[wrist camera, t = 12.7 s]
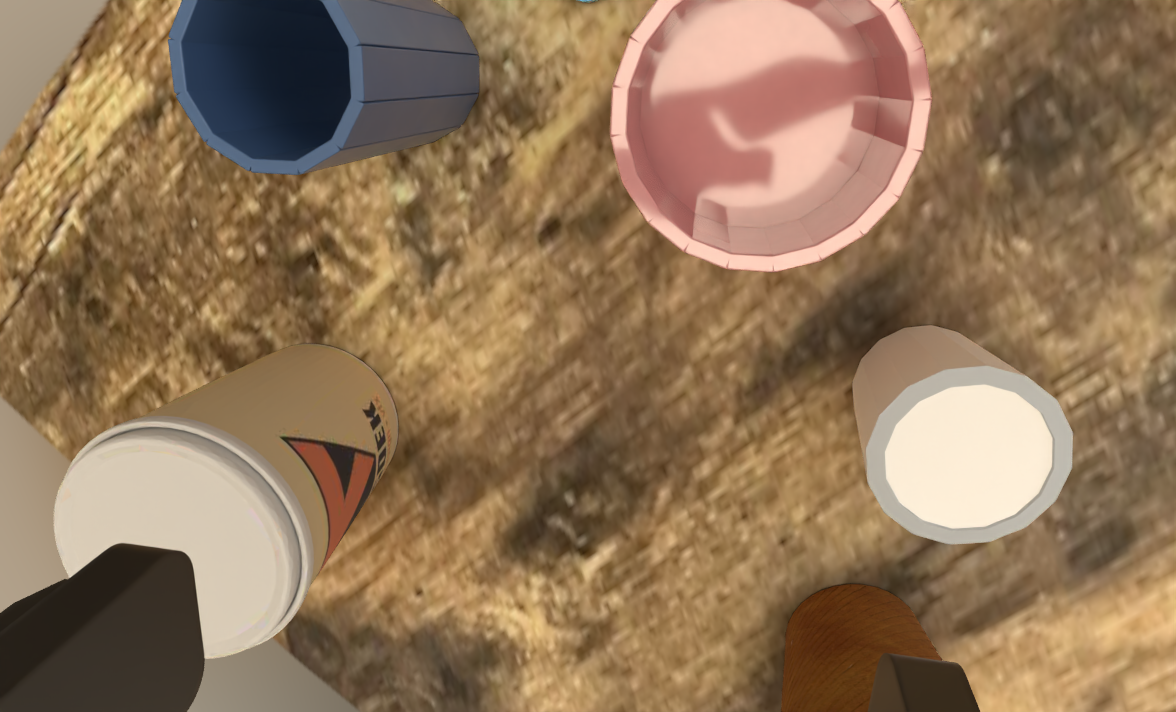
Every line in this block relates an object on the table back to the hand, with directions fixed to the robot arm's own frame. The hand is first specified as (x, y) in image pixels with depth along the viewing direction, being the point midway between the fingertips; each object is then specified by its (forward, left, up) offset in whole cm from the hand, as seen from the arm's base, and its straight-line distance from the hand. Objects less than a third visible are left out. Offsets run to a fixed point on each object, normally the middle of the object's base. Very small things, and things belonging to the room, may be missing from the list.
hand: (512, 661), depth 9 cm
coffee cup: (+15, +10, -27) cm, 33 cm away
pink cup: (-4, -5, -27) cm, 28 cm away
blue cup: (+10, -6, -27) cm, 29 cm away
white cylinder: (-12, +6, -27) cm, 30 cm away
